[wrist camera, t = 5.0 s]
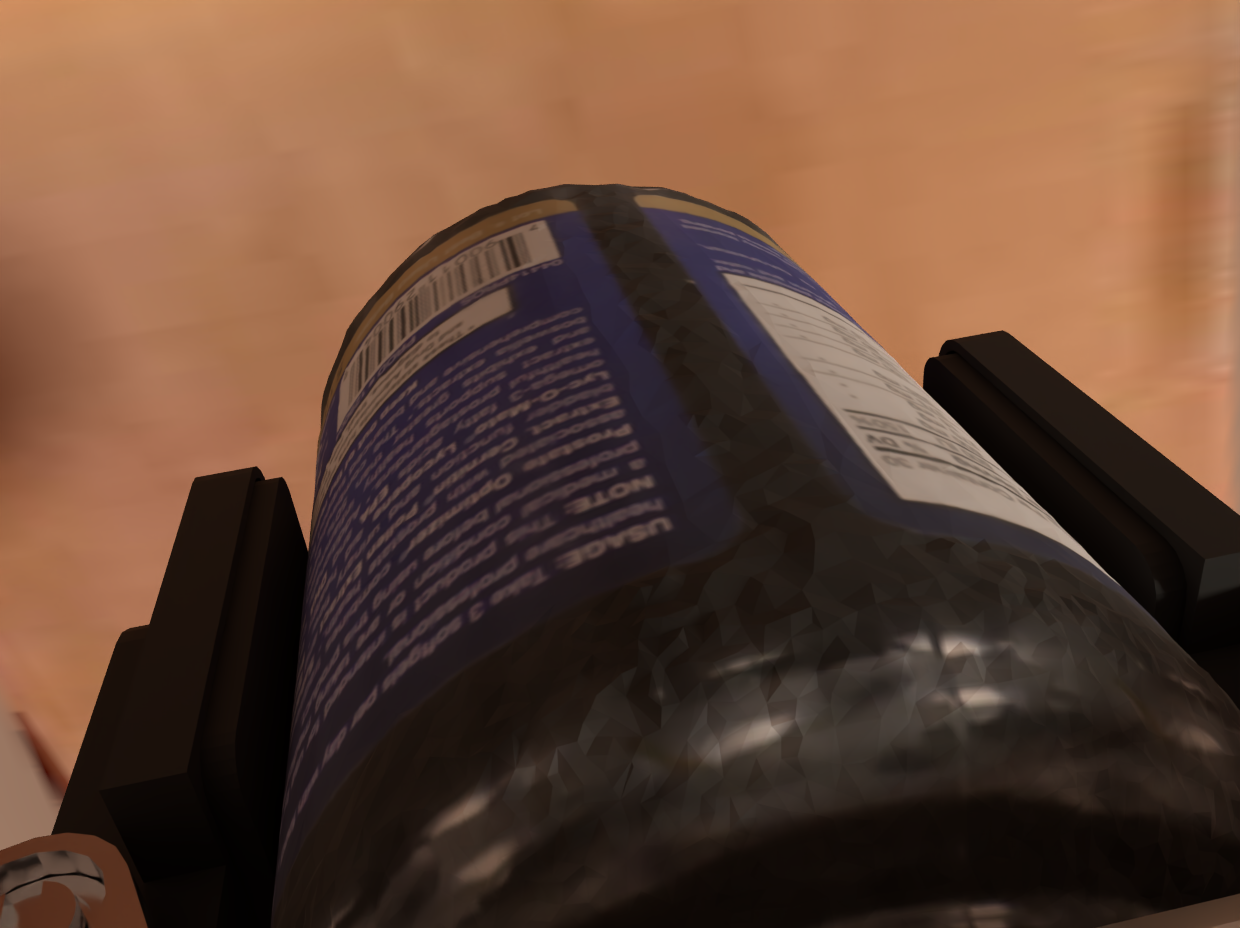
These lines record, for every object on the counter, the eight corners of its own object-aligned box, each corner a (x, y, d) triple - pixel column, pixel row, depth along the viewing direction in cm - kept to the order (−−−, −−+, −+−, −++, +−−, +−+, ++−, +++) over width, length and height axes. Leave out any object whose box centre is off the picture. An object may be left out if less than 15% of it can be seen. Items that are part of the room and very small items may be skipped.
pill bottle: (374, 663, 14) (343, 2266, 5) (266, 200, 11) (-382, 2080, 2) (831, 587, 15) (1576, 1847, 6) (845, 133, 12) (2537, 1214, 3)
